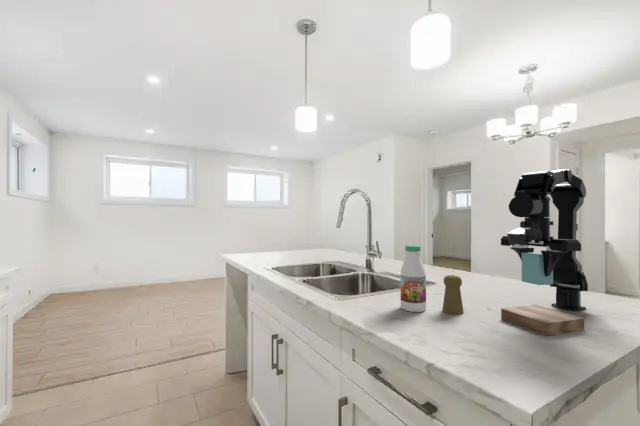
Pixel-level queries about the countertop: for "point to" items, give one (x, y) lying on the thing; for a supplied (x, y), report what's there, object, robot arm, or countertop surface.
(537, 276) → the teal block
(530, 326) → the wooden board
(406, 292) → the milk bottle
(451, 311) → the cork
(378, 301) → the countertop surface
